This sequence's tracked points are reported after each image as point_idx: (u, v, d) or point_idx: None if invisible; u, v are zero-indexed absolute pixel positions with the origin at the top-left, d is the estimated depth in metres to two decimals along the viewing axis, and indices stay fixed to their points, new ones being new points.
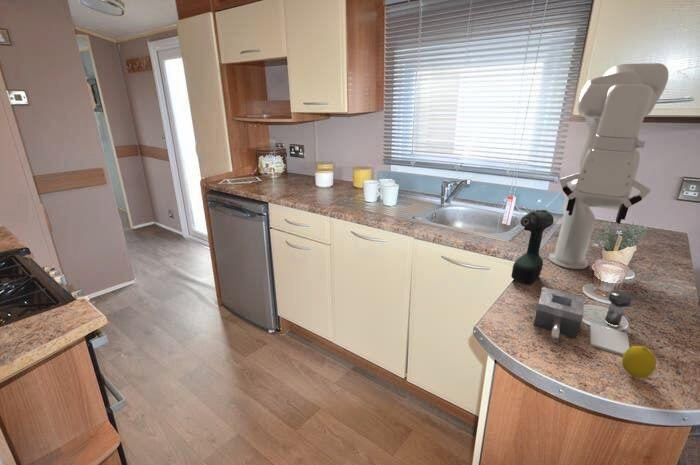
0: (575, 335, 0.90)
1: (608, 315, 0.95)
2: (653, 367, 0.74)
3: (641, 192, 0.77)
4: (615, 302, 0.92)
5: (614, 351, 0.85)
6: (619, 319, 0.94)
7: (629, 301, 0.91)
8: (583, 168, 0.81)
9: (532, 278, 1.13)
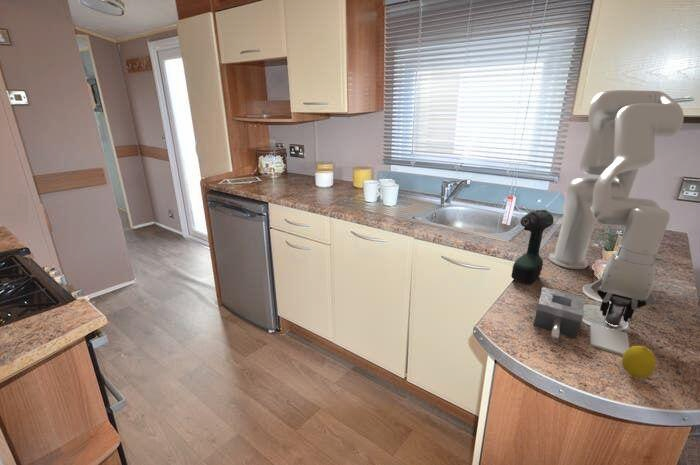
0: (575, 335, 0.90)
1: (608, 315, 0.95)
2: (653, 367, 0.74)
3: (648, 300, 0.89)
4: (615, 302, 0.92)
5: (614, 351, 0.85)
6: (619, 319, 0.94)
7: (629, 301, 0.91)
8: (607, 272, 0.91)
9: (532, 278, 1.13)
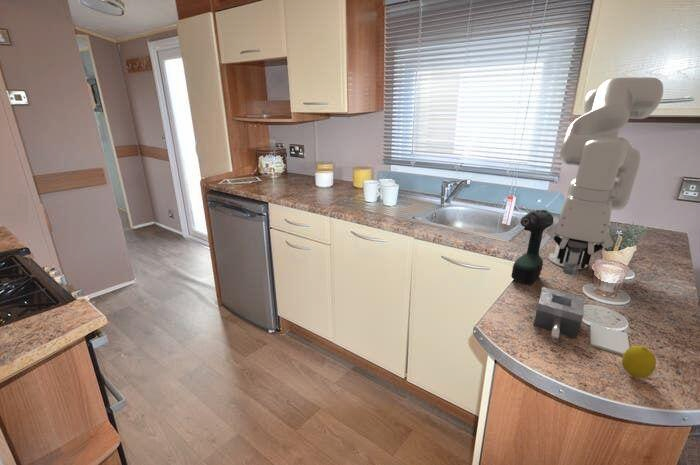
0: (575, 335, 0.90)
1: (565, 263, 0.89)
2: (653, 367, 0.74)
3: (605, 243, 0.84)
4: (571, 247, 0.86)
5: (614, 351, 0.85)
6: (576, 266, 0.88)
7: (585, 245, 0.85)
8: (562, 215, 0.85)
9: (532, 278, 1.13)
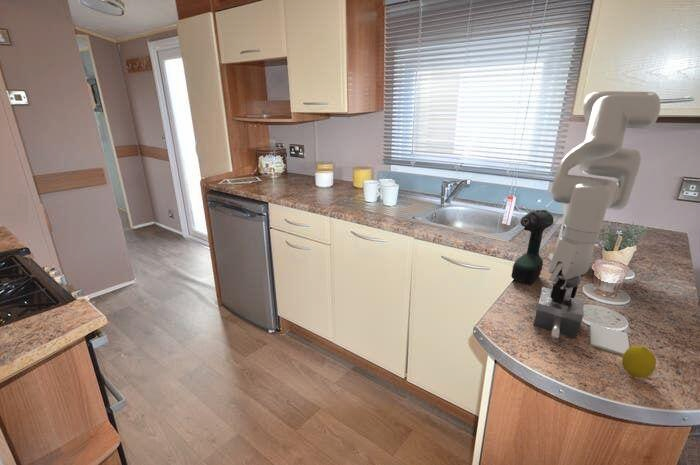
0: (575, 335, 0.90)
1: None
2: (653, 367, 0.74)
3: None
4: (572, 285, 0.89)
5: (614, 351, 0.85)
6: None
7: None
8: (570, 260, 0.85)
9: (532, 278, 1.13)
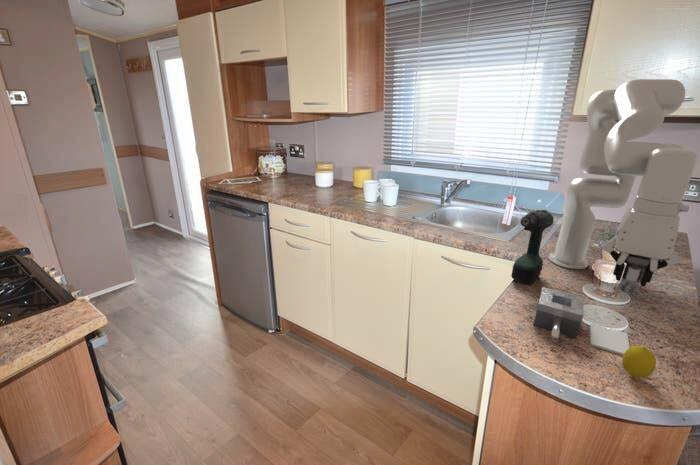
0: (575, 335, 0.90)
1: (623, 280, 0.83)
2: (653, 367, 0.74)
3: (670, 259, 0.77)
4: (631, 263, 0.80)
5: (614, 351, 0.85)
6: (636, 284, 0.81)
7: (648, 262, 0.79)
8: (623, 228, 0.79)
9: (532, 278, 1.13)
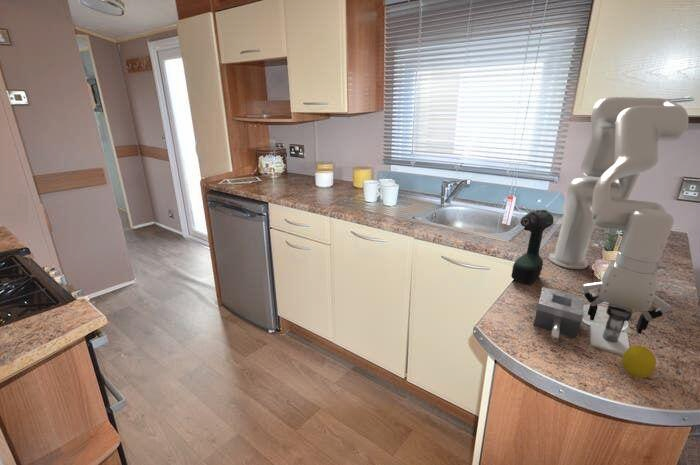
0: (575, 335, 0.90)
1: (606, 329, 0.88)
2: (653, 367, 0.74)
3: (662, 308, 0.81)
4: (613, 316, 0.85)
5: (614, 351, 0.85)
6: (618, 334, 0.87)
7: (629, 315, 0.84)
8: (606, 281, 0.84)
9: (532, 278, 1.13)
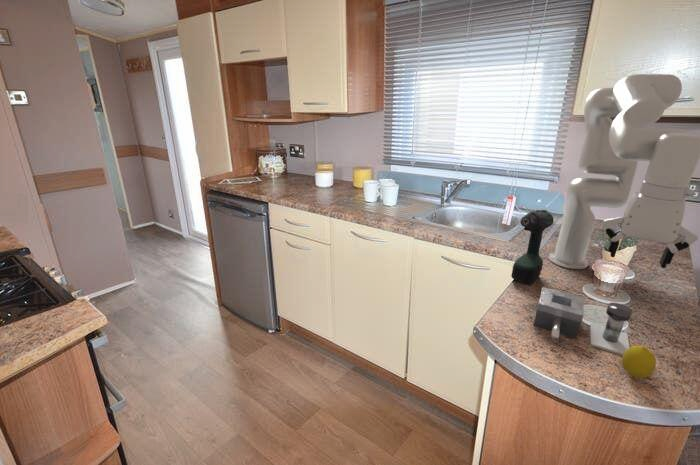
0: (575, 335, 0.90)
1: (606, 329, 0.88)
2: (653, 367, 0.74)
3: (688, 239, 0.78)
4: (613, 316, 0.85)
5: (614, 351, 0.85)
6: (618, 334, 0.87)
7: (628, 315, 0.84)
8: (629, 213, 0.81)
9: (532, 278, 1.13)
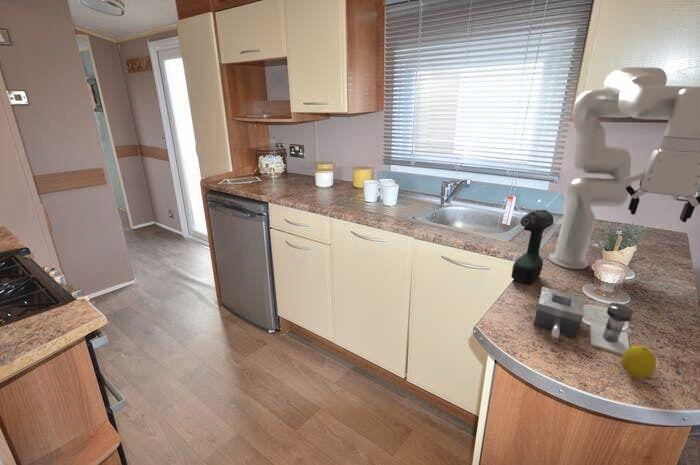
0: (575, 335, 0.90)
1: (606, 330, 0.88)
2: (653, 367, 0.74)
3: None
4: (614, 316, 0.85)
5: (614, 351, 0.85)
6: (618, 334, 0.87)
7: (629, 315, 0.84)
8: (650, 168, 0.83)
9: (532, 278, 1.13)
